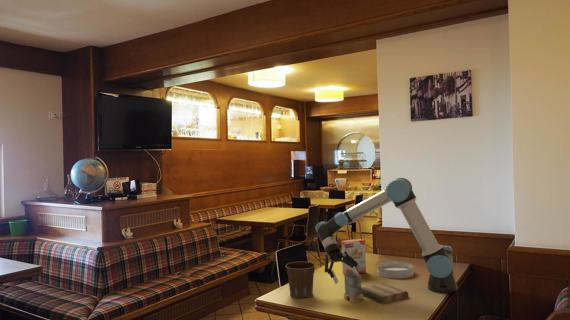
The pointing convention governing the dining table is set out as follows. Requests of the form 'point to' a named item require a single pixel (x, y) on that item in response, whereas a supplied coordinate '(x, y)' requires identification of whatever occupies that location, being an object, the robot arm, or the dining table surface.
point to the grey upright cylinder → (353, 287)
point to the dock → (383, 292)
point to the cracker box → (355, 254)
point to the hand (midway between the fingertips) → (348, 280)
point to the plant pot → (300, 278)
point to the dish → (395, 269)
